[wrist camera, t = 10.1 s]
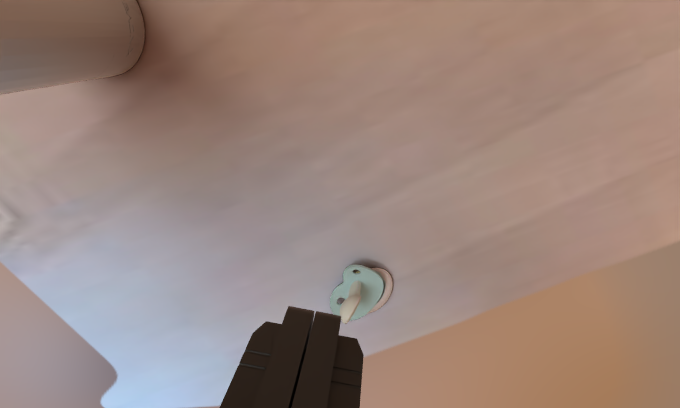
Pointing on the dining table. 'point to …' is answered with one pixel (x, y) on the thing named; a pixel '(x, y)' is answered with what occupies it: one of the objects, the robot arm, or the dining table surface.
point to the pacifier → (361, 292)
